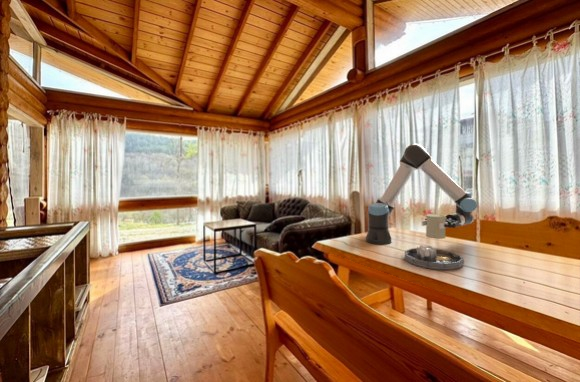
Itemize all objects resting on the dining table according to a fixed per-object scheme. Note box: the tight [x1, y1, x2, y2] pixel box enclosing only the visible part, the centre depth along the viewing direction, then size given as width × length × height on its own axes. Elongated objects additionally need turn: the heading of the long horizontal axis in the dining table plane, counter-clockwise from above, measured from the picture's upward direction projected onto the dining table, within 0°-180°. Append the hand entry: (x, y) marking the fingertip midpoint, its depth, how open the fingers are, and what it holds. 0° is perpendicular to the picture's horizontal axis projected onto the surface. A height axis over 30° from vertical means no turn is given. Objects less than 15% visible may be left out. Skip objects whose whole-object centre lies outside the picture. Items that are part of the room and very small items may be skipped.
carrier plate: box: [404, 245, 465, 271], centre depth 123 cm, size 24×24×7 cm
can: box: [425, 213, 446, 240], centre depth 139 cm, size 9×9×12 cm
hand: (430, 224), depth 137 cm, fingers closed on can, 9 cm apart
